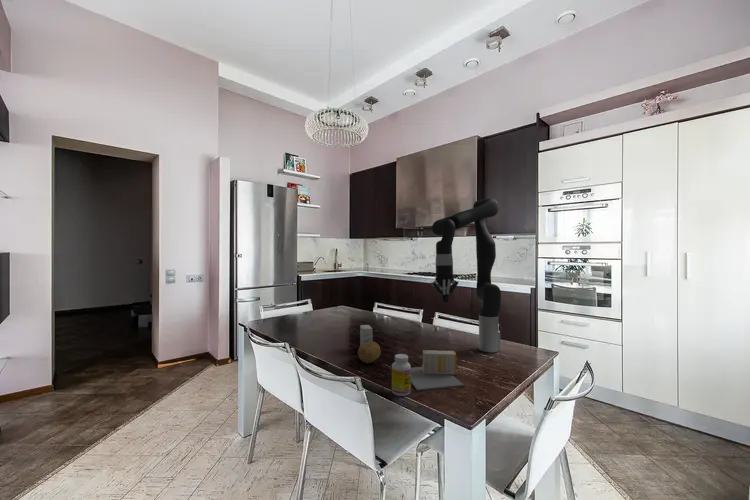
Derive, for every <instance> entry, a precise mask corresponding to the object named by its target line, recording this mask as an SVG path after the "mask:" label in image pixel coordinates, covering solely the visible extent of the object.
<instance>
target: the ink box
mask: <svg viewBox="0 0 750 500" xmlns="http://www.w3.org/2000/svg"><path fill="white" fill-rule="evenodd" d="M359 331H360V332H359V335H360V336H359V338H360V339H359V342H360V343H359V344H360V346H359V348H360V347H361V346H362V345H363V344H366V343H368V342H370V341H373V340H374V339H373V327H372V326H371V325H369V324H361V325H359ZM373 342H374V341H373Z"/></svg>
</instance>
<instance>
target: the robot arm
mask: <svg viewBox="0 0 750 500" xmlns="http://www.w3.org/2000/svg"><path fill="white" fill-rule="evenodd" d="M499 210H500V206H499V203H498V201H497V199H494V198H483V199H478V200H476V201H475V202H474V203H473V206H472V208H469V209H465V210H462V211H459V212H457V213H456V212H455V213H454V214H452V215H450V216H447V217H444V218H440V219H437V220H436V221H434V222H433V223H432V225H431V232H433V234H434V235H436V236H442V237H441V240H438V241H436V244H435V254H436V255H435V278H434V279H435V280H434V281H431V283H430V285H431V286H432V287H433V289H434V290H435V291H436V293H438V294H440V296H441V297H440V298H441V299H440V300H441V302H442V303H444V304H448V302H449V295H450V294H452V293H453V292H454V290H456V288H457V286H458V284H459V281H458V280H455V278H454V275H453V274H454V261H453V241H454V238H455V233H456V231H457V230H460V229H461V228H464V227H466V226H468V225H470V224H472V223H474V229H475V243H476V244H475V247H476V249H475V251H476V253H475V254H476V275H477V276H476V289H475V290H476V291H475V292H476V296H477V297H478V298H479V300H480V301H483V303H482V304H483V305H482V307H481V308H480V309H478V349H479V351H481V352H485V353H497V352H500V351H501V331H500V330H499V313H500V312H501V307H502V306H501V305H502V304H501V303H502V291H501V289H500V287H499V286H498V285H497V284H494V283H492V269H493V267H494V264H495V261H496V258H497V252H496V251H497V249H496V246H497V245H496V242H495V239H494V238H493V236H492V235H491V233H490V231H488V228H487V223H486V219H487V218H492V217H494V216H497V214H498V213H499ZM438 285H439V286H438Z"/></svg>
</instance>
